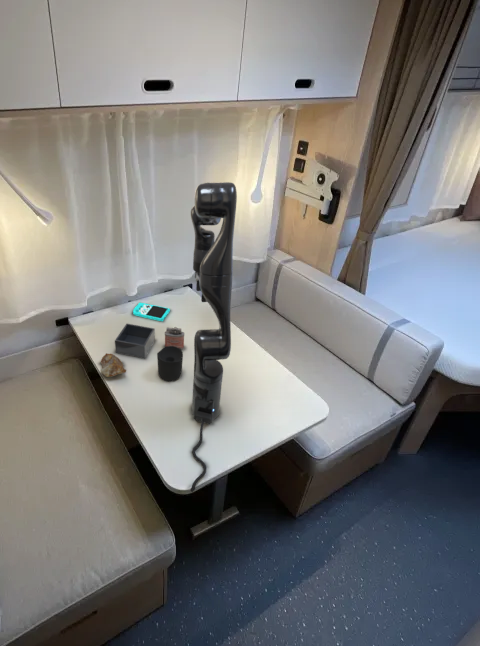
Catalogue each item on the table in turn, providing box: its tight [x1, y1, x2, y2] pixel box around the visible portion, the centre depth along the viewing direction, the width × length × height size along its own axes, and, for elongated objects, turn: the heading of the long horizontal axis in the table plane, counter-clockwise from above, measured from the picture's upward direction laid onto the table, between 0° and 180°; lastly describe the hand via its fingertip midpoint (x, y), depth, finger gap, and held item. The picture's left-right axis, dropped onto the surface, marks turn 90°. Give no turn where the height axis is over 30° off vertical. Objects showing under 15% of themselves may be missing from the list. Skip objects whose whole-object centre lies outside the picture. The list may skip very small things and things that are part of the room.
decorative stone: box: [100, 352, 127, 378], centre depth 152 cm, size 10×4×15 cm
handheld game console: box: [132, 302, 171, 322], centre depth 186 cm, size 10×16×1 cm, turn 70°
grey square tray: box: [114, 323, 156, 360], centre depth 163 cm, size 12×13×6 cm
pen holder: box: [156, 346, 184, 383], centre depth 148 cm, size 9×9×10 cm
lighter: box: [164, 326, 185, 351], centre depth 162 cm, size 8×3×10 cm, turn 84°
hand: (201, 296), depth 155 cm, fingers open, 8 cm apart
